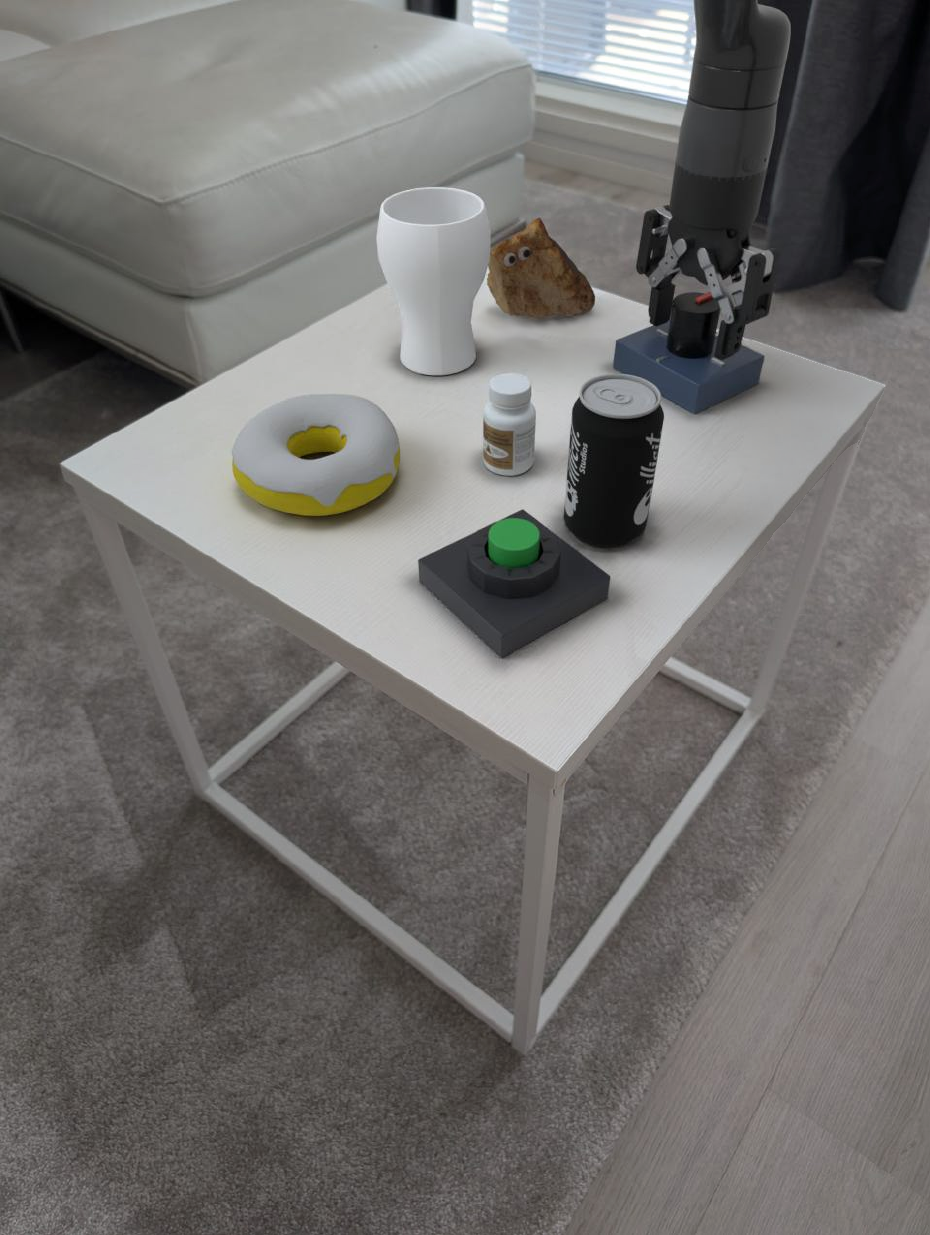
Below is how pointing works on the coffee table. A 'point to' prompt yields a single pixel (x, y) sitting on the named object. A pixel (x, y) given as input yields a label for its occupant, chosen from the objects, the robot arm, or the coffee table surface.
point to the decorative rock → (537, 277)
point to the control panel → (686, 369)
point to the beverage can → (612, 459)
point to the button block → (513, 587)
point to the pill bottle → (509, 425)
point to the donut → (311, 427)
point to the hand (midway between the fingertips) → (690, 339)
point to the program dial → (693, 325)
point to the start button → (514, 543)
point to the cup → (435, 272)
